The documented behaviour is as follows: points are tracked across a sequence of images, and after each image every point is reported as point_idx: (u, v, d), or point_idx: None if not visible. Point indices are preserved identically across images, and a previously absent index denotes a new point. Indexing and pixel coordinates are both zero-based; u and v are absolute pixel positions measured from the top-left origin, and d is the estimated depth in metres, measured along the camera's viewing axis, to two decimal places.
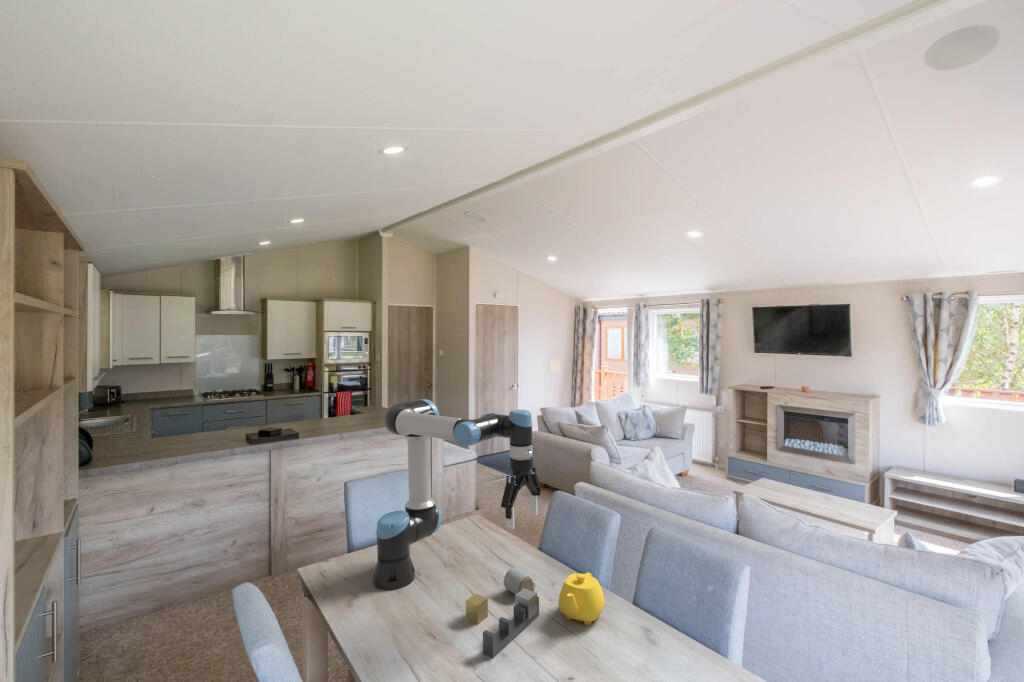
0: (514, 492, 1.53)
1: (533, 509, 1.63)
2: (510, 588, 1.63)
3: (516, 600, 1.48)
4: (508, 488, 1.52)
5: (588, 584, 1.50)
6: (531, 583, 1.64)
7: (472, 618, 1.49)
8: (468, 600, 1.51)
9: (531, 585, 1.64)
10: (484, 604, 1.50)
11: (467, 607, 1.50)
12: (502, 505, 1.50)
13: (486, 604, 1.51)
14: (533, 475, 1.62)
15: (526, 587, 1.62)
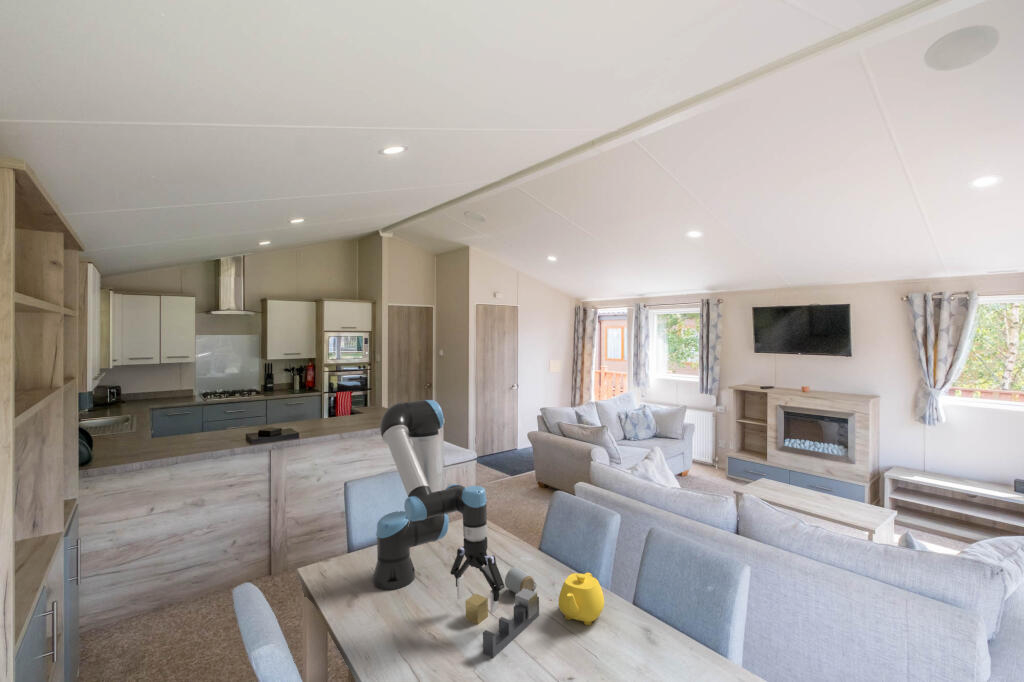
0: None
1: None
2: (511, 587, 1.63)
3: (516, 600, 1.48)
4: None
5: (588, 584, 1.50)
6: (532, 582, 1.64)
7: (472, 618, 1.49)
8: (468, 600, 1.51)
9: (532, 584, 1.64)
10: (484, 604, 1.50)
11: (467, 607, 1.50)
12: None
13: (486, 604, 1.51)
14: None
15: (527, 586, 1.63)
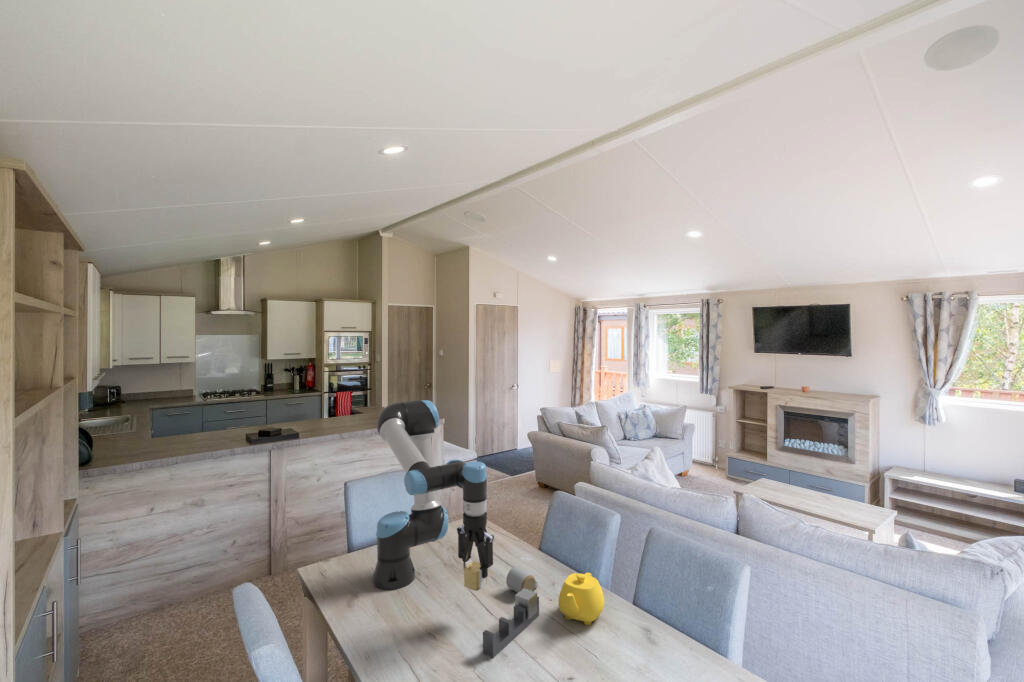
0: None
1: None
2: (513, 587, 1.64)
3: (516, 600, 1.48)
4: None
5: (588, 584, 1.50)
6: (533, 582, 1.64)
7: (471, 584, 1.49)
8: (467, 567, 1.51)
9: (533, 584, 1.64)
10: None
11: (466, 574, 1.50)
12: None
13: None
14: None
15: (528, 586, 1.63)
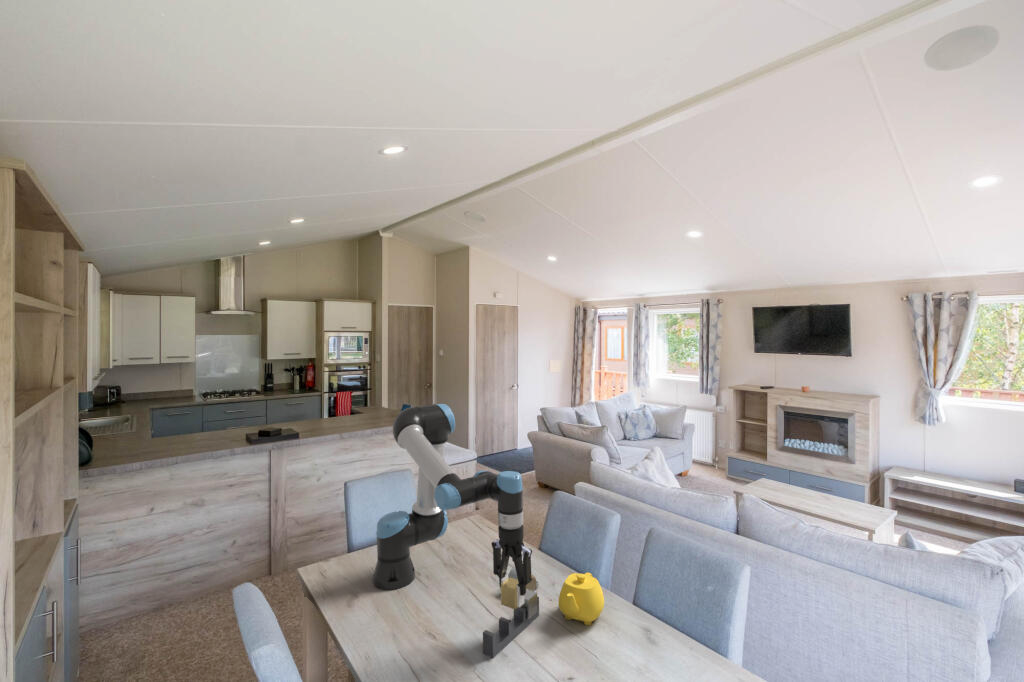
0: None
1: None
2: None
3: None
4: None
5: (588, 584, 1.50)
6: (534, 581, 1.65)
7: (508, 602, 1.40)
8: (503, 584, 1.42)
9: (534, 583, 1.65)
10: None
11: (502, 591, 1.42)
12: None
13: None
14: None
15: (529, 585, 1.63)
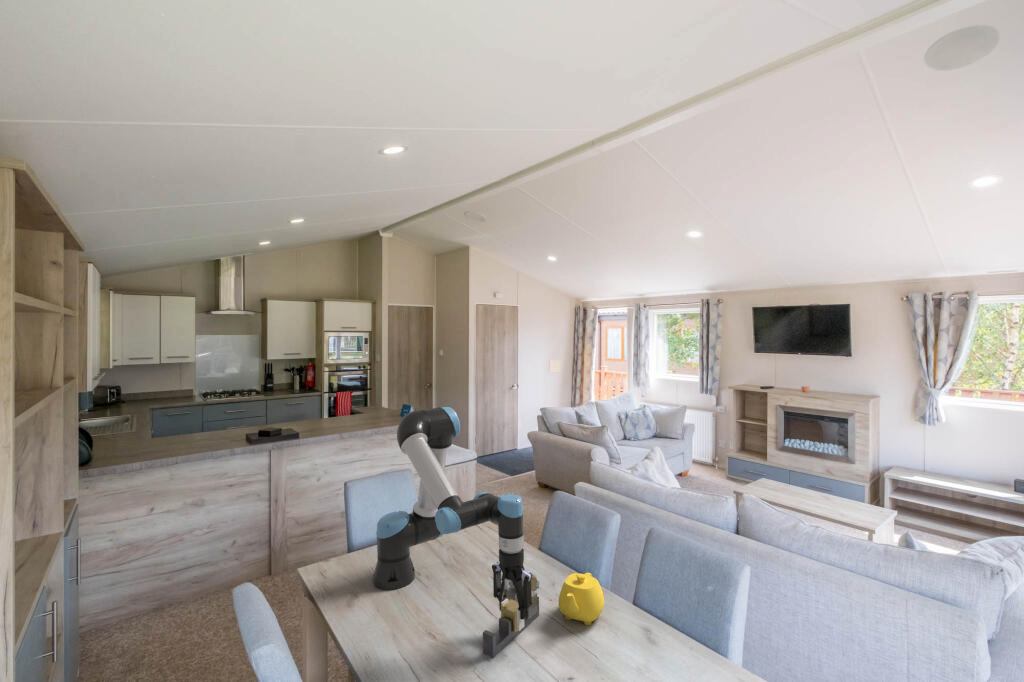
0: None
1: None
2: None
3: (516, 600, 1.48)
4: None
5: (588, 584, 1.50)
6: (535, 581, 1.65)
7: None
8: (503, 606, 1.42)
9: (535, 583, 1.65)
10: None
11: (503, 614, 1.42)
12: None
13: None
14: None
15: None
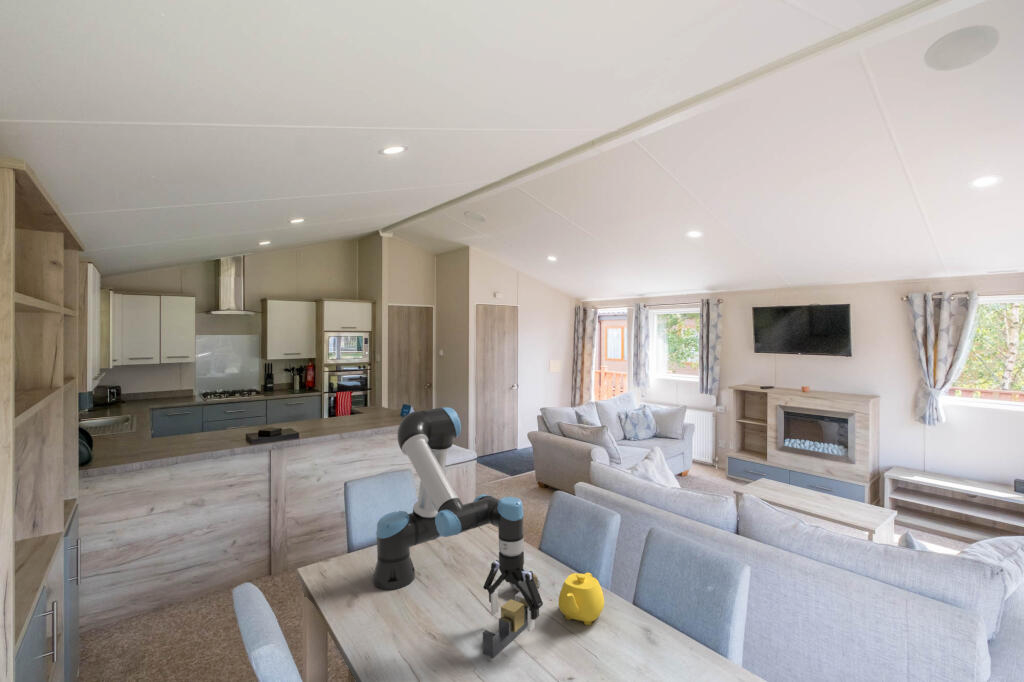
0: None
1: None
2: (515, 585, 1.65)
3: (516, 600, 1.48)
4: None
5: (588, 584, 1.50)
6: (536, 581, 1.65)
7: None
8: (503, 606, 1.42)
9: (536, 583, 1.65)
10: (521, 611, 1.42)
11: (503, 614, 1.42)
12: None
13: (522, 610, 1.43)
14: None
15: None
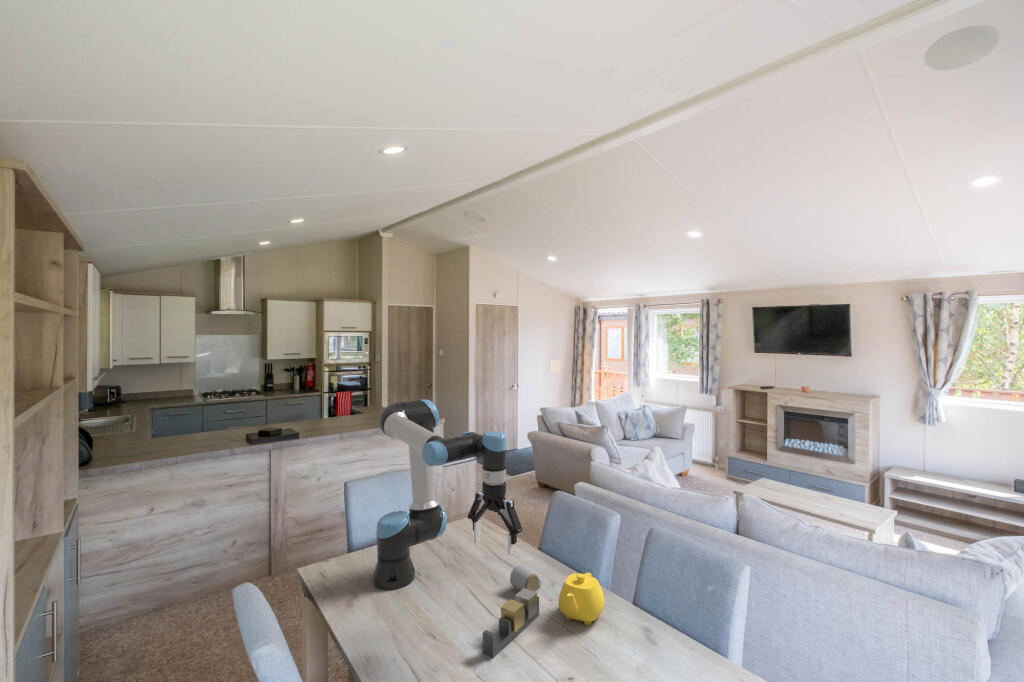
0: None
1: None
2: (516, 585, 1.65)
3: (516, 600, 1.48)
4: None
5: (588, 584, 1.50)
6: (537, 580, 1.66)
7: None
8: (503, 606, 1.42)
9: (537, 582, 1.66)
10: (521, 611, 1.42)
11: (503, 614, 1.42)
12: None
13: (522, 610, 1.43)
14: None
15: (532, 584, 1.64)
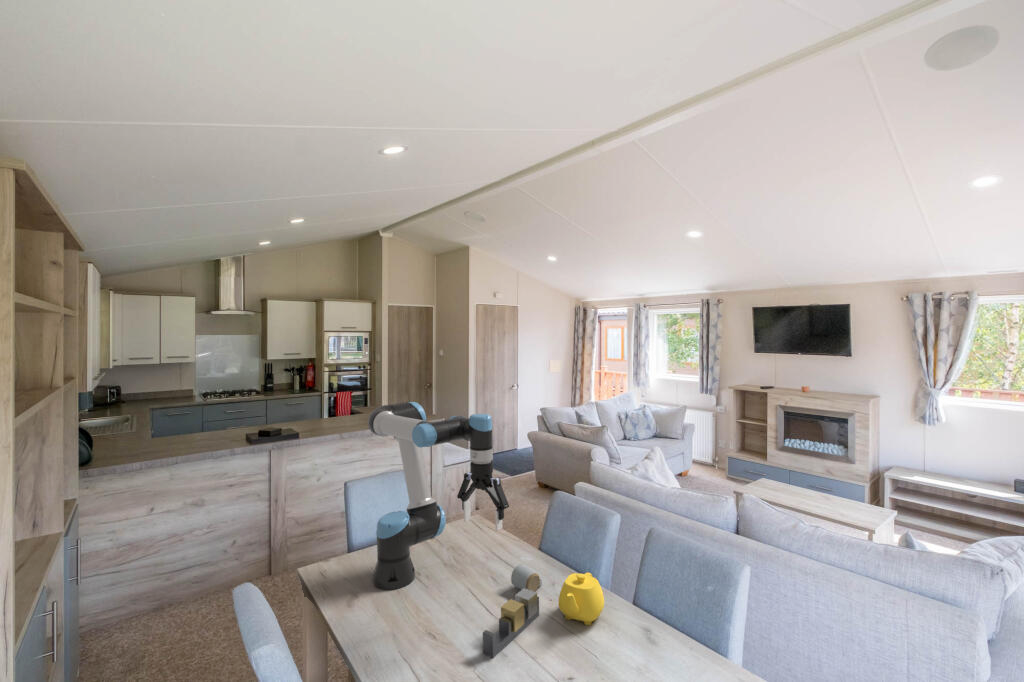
0: None
1: None
2: (517, 584, 1.65)
3: (516, 600, 1.48)
4: None
5: (588, 584, 1.50)
6: (538, 580, 1.66)
7: None
8: (503, 606, 1.42)
9: (538, 582, 1.66)
10: (521, 611, 1.42)
11: (503, 614, 1.42)
12: None
13: (522, 610, 1.43)
14: None
15: (533, 583, 1.64)
